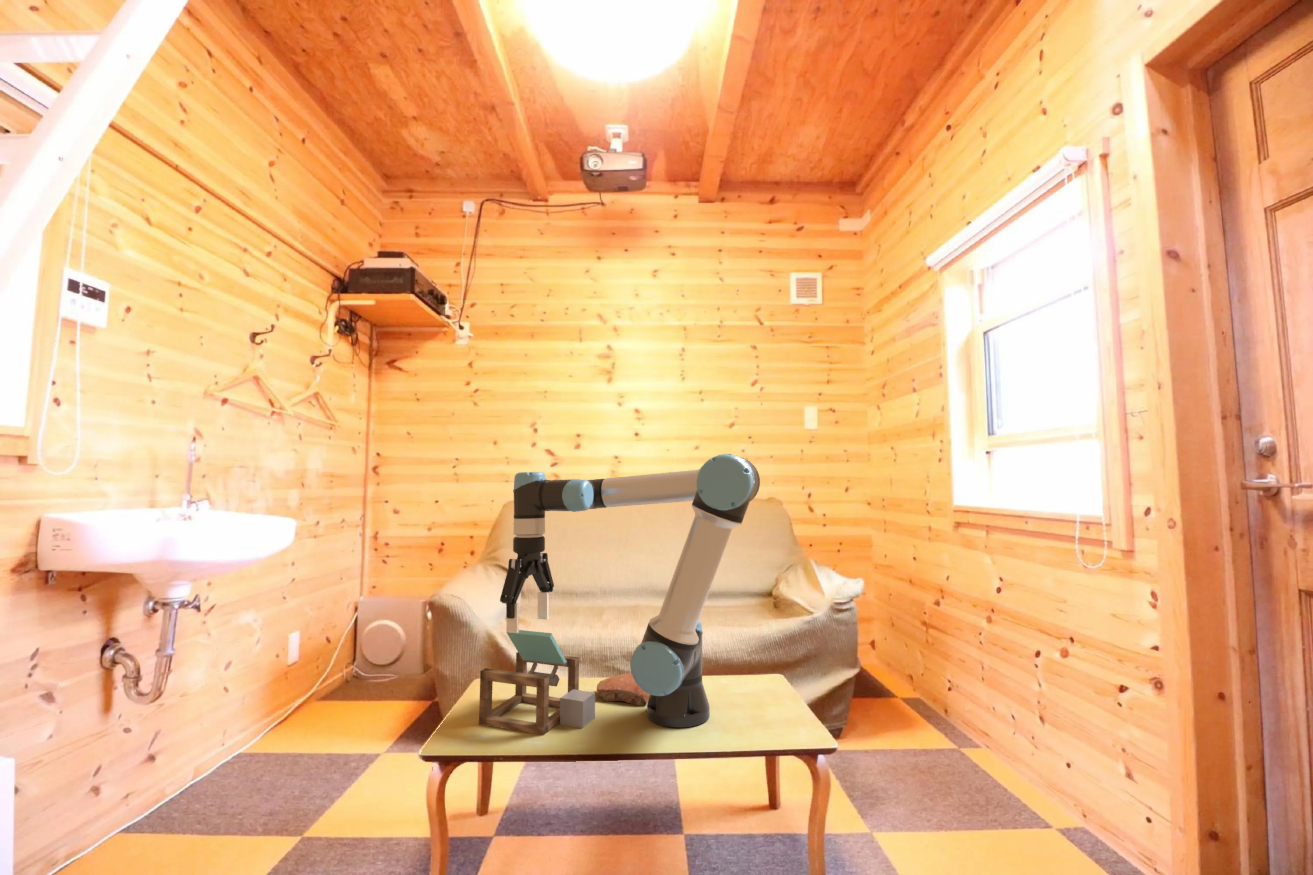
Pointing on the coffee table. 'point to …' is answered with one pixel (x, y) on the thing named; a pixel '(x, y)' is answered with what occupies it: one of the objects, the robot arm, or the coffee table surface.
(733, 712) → the coffee table surface
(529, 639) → the trapdoor
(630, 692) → the ceramic shard
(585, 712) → the gray cube
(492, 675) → the frame
